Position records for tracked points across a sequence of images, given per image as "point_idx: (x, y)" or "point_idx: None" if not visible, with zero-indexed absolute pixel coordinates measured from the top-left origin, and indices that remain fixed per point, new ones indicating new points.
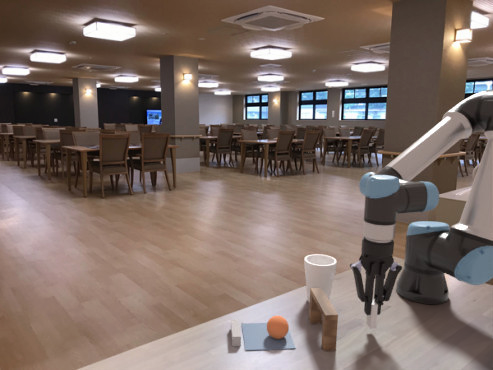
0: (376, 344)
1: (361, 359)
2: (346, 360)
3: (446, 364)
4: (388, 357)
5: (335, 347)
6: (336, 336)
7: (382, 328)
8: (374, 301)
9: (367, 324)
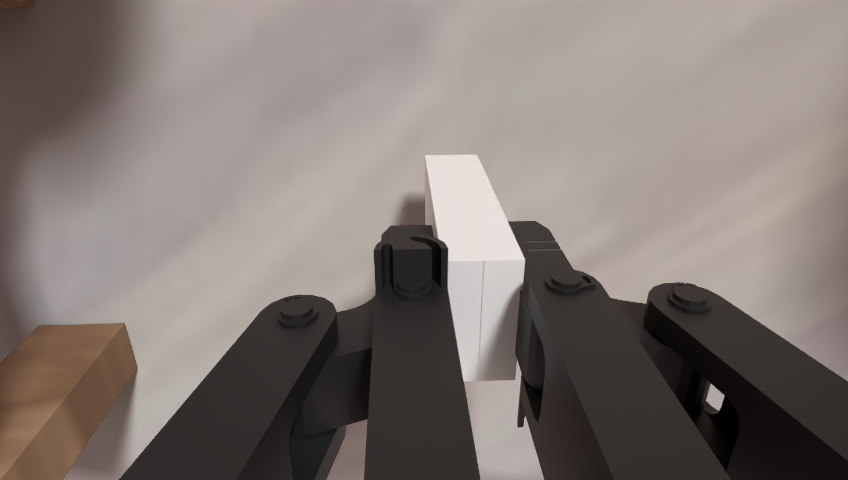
0: None
1: None
2: None
3: None
4: None
5: (124, 382)
6: (85, 442)
7: (569, 124)
8: (510, 306)
9: (425, 180)
